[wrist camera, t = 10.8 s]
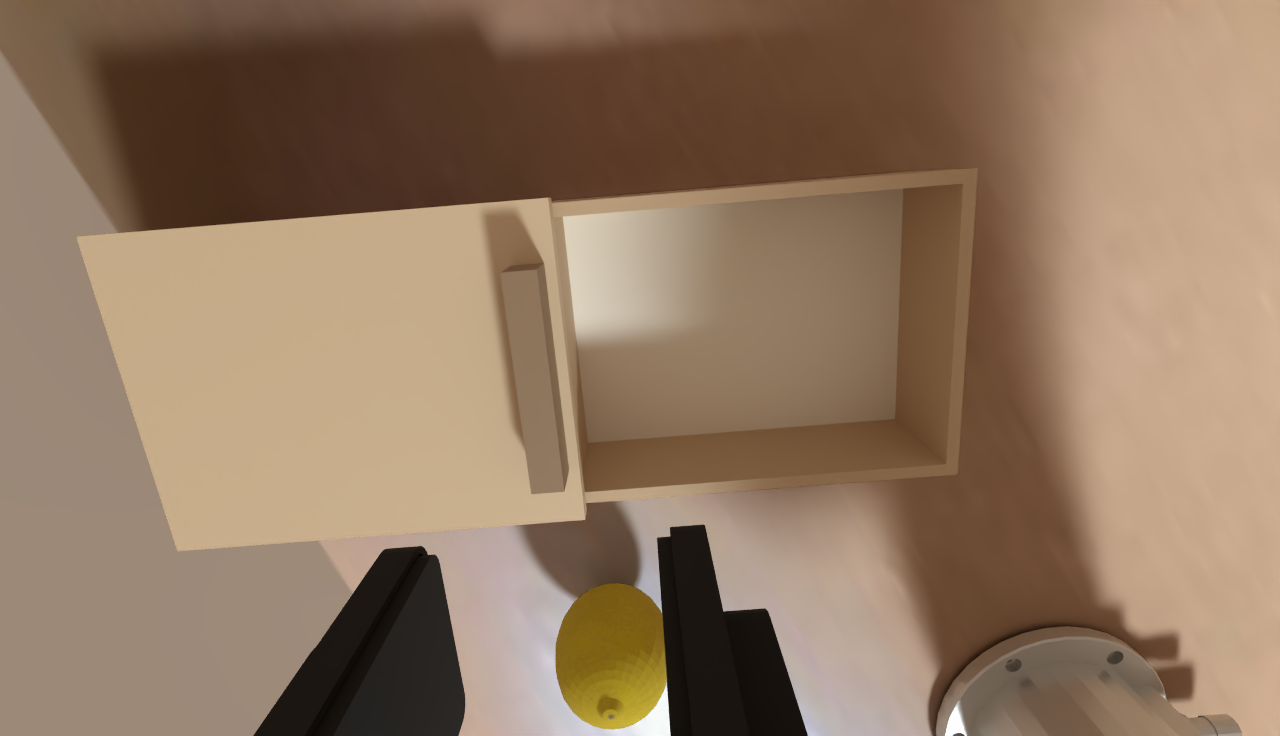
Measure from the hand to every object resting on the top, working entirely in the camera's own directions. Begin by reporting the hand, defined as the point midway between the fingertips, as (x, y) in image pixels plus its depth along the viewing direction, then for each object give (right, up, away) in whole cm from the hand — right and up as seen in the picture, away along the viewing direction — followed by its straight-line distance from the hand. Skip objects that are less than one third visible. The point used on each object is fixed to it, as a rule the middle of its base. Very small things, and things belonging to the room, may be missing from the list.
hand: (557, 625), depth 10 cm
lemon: (0, -8, +25) cm, 26 cm away
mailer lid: (-10, +3, +15) cm, 18 cm away
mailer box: (+6, +6, +20) cm, 22 cm away
